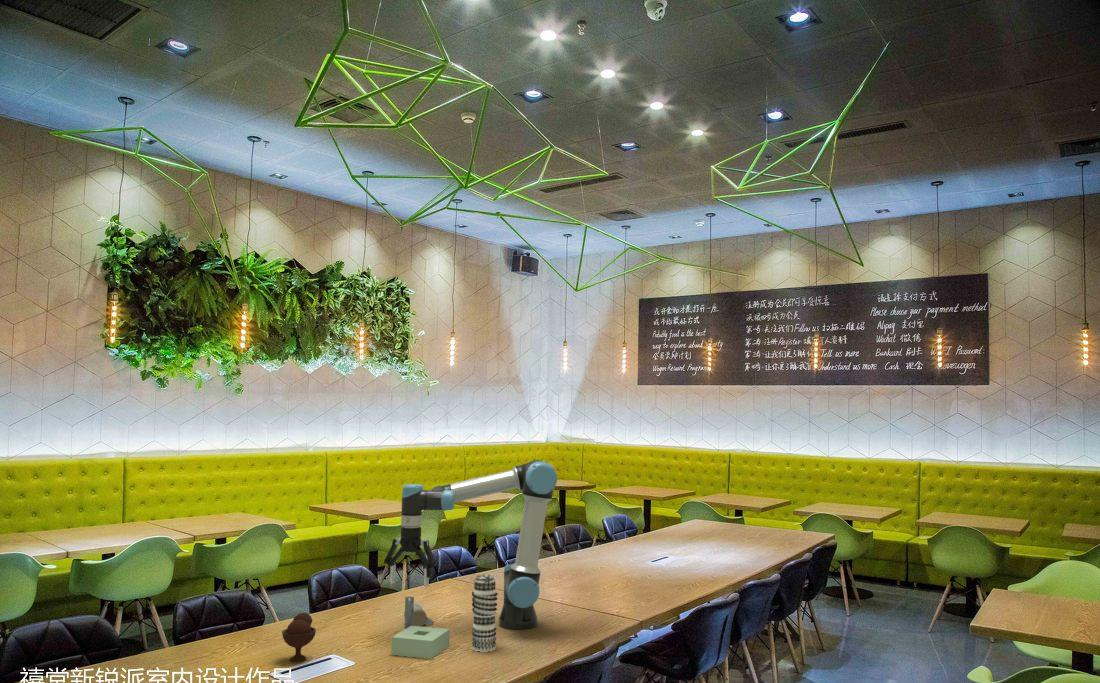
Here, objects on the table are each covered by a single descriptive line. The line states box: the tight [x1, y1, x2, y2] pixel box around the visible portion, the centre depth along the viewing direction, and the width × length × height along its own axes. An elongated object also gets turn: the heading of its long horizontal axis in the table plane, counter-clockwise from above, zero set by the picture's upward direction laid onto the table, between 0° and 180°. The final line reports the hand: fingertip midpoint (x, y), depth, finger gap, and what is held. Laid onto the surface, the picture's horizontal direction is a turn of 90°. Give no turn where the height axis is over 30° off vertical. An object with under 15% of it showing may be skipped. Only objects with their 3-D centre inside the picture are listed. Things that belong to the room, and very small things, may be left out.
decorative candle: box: [471, 574, 499, 653], centre depth 273 cm, size 9×9×25 cm
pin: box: [403, 596, 415, 630], centre depth 285 cm, size 3×3×14 cm
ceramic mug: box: [403, 603, 434, 627], centre depth 301 cm, size 11×8×8 cm
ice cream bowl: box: [281, 612, 317, 663], centre depth 259 cm, size 11×11×15 cm
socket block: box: [390, 626, 451, 660], centre depth 269 cm, size 15×15×6 cm
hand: (409, 584), depth 286 cm, fingers open, 13 cm apart
